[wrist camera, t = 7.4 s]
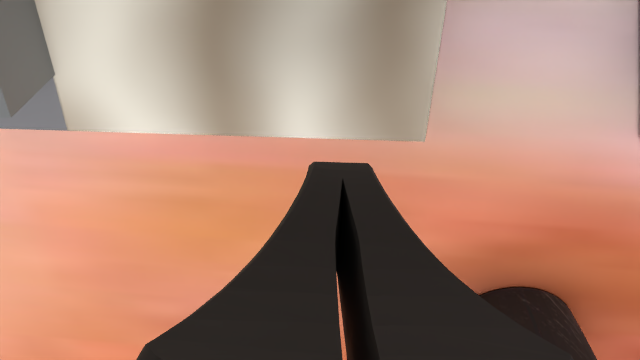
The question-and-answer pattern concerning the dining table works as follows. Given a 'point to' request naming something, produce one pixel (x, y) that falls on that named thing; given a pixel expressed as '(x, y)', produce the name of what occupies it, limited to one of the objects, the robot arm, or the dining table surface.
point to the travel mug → (542, 318)
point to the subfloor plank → (246, 66)
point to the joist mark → (39, 112)
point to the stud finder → (21, 55)
